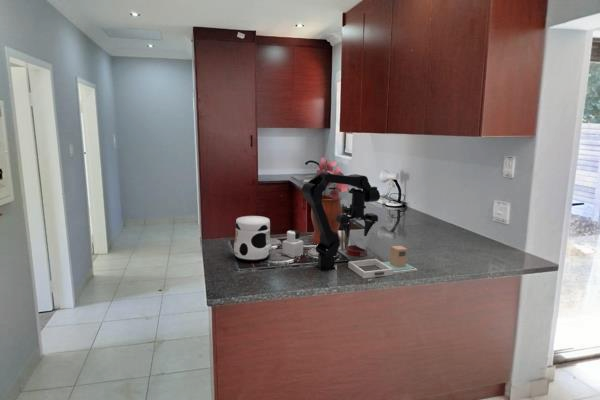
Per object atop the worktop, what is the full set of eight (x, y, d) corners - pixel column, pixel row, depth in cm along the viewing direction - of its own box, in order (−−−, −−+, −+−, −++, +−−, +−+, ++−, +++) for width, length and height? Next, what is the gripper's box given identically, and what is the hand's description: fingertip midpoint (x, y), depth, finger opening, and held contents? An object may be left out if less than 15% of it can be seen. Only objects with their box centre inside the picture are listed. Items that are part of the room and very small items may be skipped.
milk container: (229, 253, 192) (229, 216, 189) (264, 250, 199) (265, 214, 196) (239, 265, 177) (239, 225, 173) (276, 261, 183) (277, 222, 180)
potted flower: (323, 233, 233) (326, 155, 225) (355, 244, 213) (360, 158, 205) (297, 238, 221) (300, 155, 213) (328, 250, 202) (332, 160, 193)
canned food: (352, 259, 204) (357, 240, 206) (368, 262, 197) (373, 242, 199) (339, 253, 196) (344, 233, 199) (355, 256, 189) (361, 235, 192)
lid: (391, 274, 172) (392, 271, 172) (376, 264, 183) (377, 262, 183) (417, 271, 177) (417, 268, 176) (401, 262, 188) (401, 259, 187)
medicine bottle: (291, 252, 198) (292, 228, 195) (303, 255, 193) (304, 230, 191) (282, 255, 192) (282, 230, 190) (293, 258, 188) (294, 233, 186)
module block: (396, 267, 176) (397, 249, 175) (389, 263, 181) (391, 246, 180) (406, 266, 178) (407, 249, 177) (399, 262, 183) (400, 245, 181)
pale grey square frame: (364, 279, 165) (365, 273, 165) (348, 267, 179) (348, 261, 178) (394, 275, 170) (394, 269, 170) (375, 264, 184) (375, 258, 183)
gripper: (367, 198, 191) (365, 231, 194) (331, 200, 185) (329, 233, 188) (379, 203, 181) (377, 237, 184) (342, 205, 174) (340, 240, 177)
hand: (356, 236), depth 183 cm, fingers open, 9 cm apart
